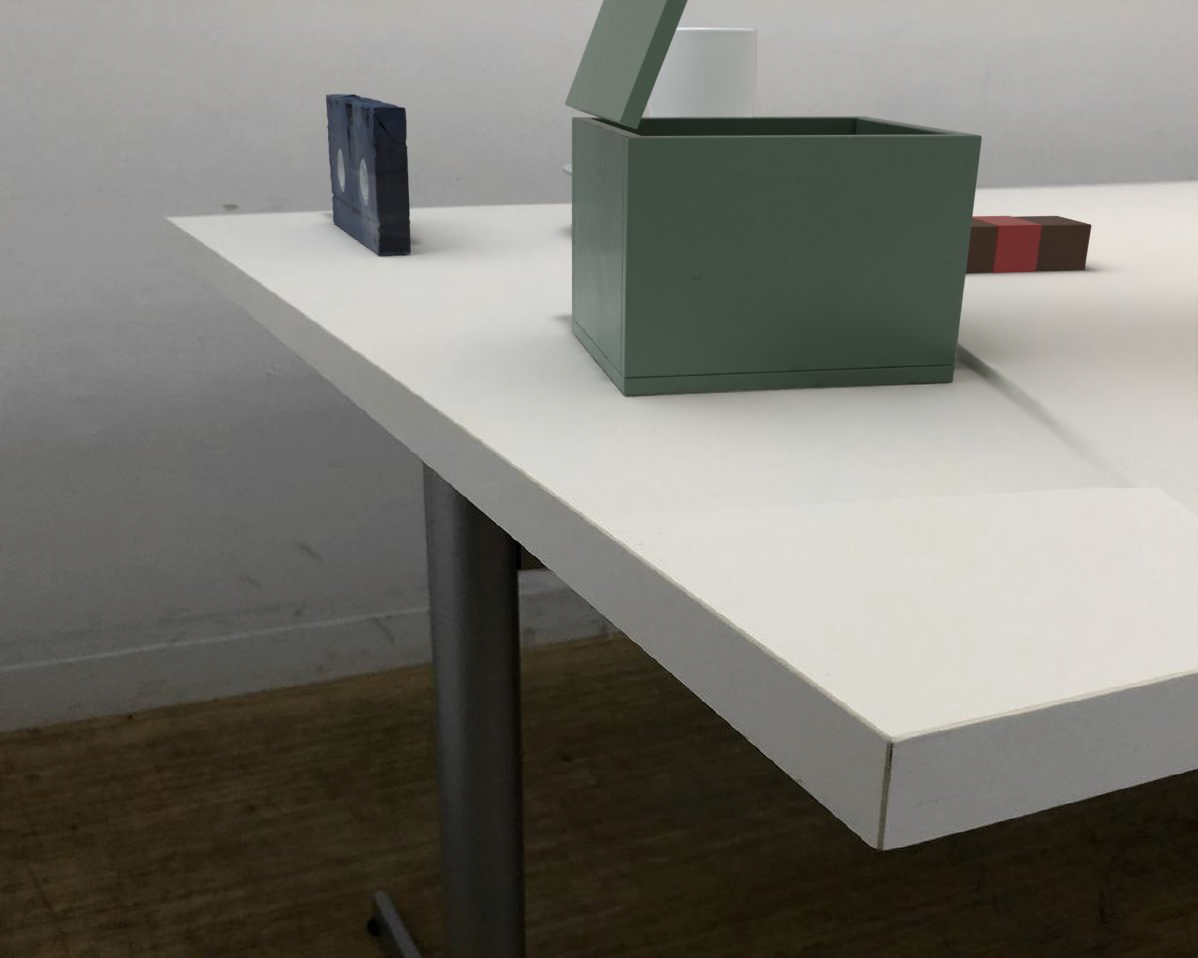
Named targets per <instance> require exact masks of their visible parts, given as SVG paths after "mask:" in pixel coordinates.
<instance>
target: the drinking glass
mask: <svg viewBox="0 0 1198 958" xmlns="http://www.w3.org/2000/svg"><path fill="white" fill-rule="evenodd" d="M757 72H758V29H757V28H755V27H683V26H682V27H681V26H680V27H678V26H677V29H676V31H675V34H674V37H673V39H672V42H671V44H670V47H669V49H668V52H667V54H666V57H665V59H664V62H663V65H662V67H661V70H660V72H659V75H658V77H657V80H656V82H655V85H654V87H653V90H652V93H651V95H650V98H649V100H648V103H647V117H754V109H755V101H756V88H757V74H758V73H757Z"/></svg>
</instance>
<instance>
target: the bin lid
mask: <svg viewBox="0 0 1198 958" xmlns="http://www.w3.org/2000/svg"><path fill="white" fill-rule="evenodd" d="M688 2H689V0H602V3H601V6H600V8H599V11H598V13H597V17H596V19H595V22H594V24H593V27H592V30H591V32H590V35H589V38H588V40H587V43H586V46H585V49H584V51H583V54H582V56H581V59H580V62H579V64H578V67H577V70H576V74H575V75H574V78H573V81H572V83H571V87H570V89H569V92H568V94H567V97H566V99H565V102H564V105H565V106H567V107H569V108H572V109H574V110H576V111H579V112H582V113H585V114H588V115H590V116H593V117H600V118H603V119H606V120H609V121H612V122H615V123H618V124H621V125H624V126H627V127H630V128H634V129H637V128H638V126H639V123H640V121H641V118H642V117H643V116H644V113H645V110H646V108H647V106H648V100H649V98H650V95H651V93H652V90H653V87H654V85H655V82H656V80H657V77H658V75H659V72H660V70H661V67H662V65H663V62H664V59H665V57H666V54H667V52H668V49H669V47H670V44H671V42H672V39H673V37H674V34H675V31H676V29H677V27H678V26H679V23H680V21H681V18H682V16H683V14H684V11H685V8H686V6H687V3H688Z"/></svg>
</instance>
